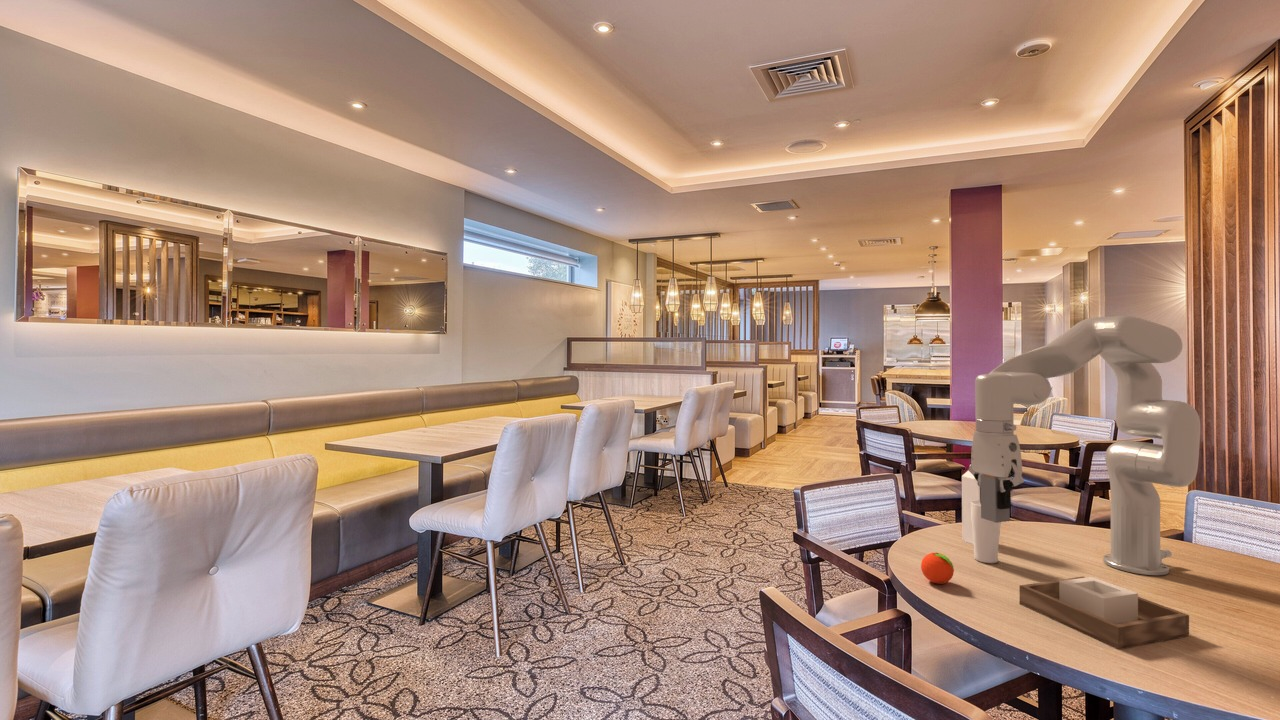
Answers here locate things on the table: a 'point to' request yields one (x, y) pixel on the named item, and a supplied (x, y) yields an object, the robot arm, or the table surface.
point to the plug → (992, 500)
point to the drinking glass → (984, 535)
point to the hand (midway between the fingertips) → (995, 505)
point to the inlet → (1100, 599)
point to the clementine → (937, 568)
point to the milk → (968, 504)
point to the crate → (1147, 629)
